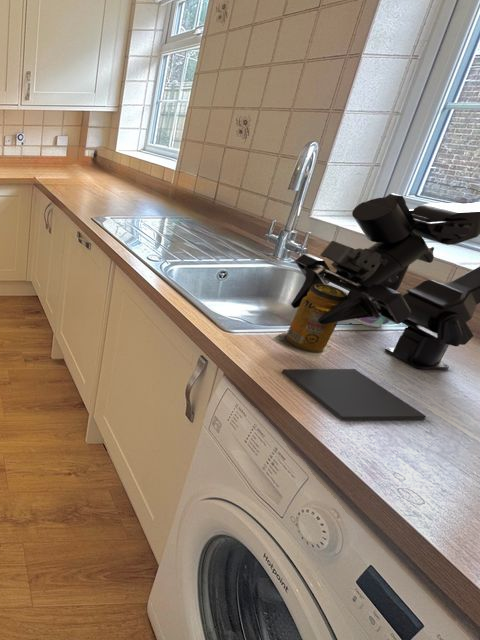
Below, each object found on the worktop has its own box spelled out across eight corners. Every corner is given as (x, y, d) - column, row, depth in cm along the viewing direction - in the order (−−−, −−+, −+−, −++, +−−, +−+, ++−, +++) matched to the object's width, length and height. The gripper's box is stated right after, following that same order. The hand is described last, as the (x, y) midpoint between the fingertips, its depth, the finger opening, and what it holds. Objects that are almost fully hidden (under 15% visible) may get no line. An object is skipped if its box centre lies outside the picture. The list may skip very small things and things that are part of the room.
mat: (353, 372, 76) (354, 368, 75) (424, 419, 64) (426, 415, 64) (281, 372, 75) (282, 369, 74) (340, 420, 63) (342, 416, 63)
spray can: (373, 328, 91) (411, 244, 84) (344, 317, 96) (378, 236, 89) (386, 324, 93) (424, 242, 86) (357, 313, 98) (391, 234, 91)
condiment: (332, 348, 78) (360, 293, 73) (313, 362, 74) (341, 305, 69) (290, 329, 84) (312, 277, 79) (269, 340, 80) (292, 286, 75)
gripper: (319, 214, 79) (249, 266, 83) (425, 247, 62) (331, 311, 65) (343, 252, 83) (275, 301, 86) (449, 293, 65) (359, 352, 69)
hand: (305, 314), depth 76 cm, fingers closed on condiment, 6 cm apart
